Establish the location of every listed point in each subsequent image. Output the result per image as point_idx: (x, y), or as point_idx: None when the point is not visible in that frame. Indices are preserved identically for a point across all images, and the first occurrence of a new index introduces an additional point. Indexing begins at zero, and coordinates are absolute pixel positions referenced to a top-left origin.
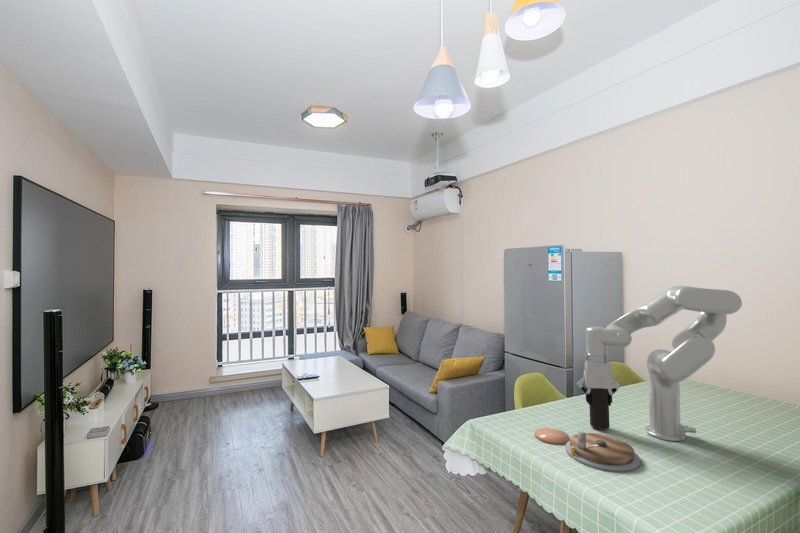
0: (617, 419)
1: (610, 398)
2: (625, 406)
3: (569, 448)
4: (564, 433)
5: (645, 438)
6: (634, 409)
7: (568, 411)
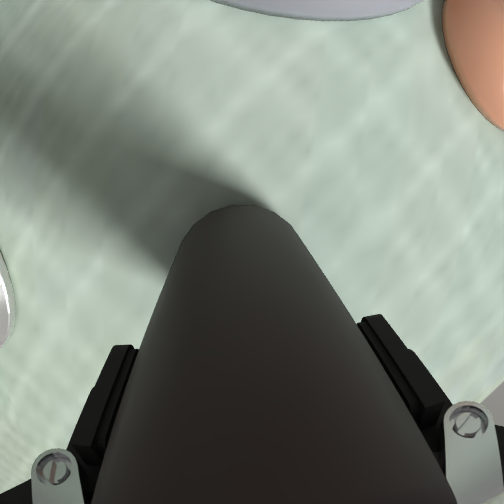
0: None
1: (87, 411)
2: None
3: None
4: (471, 65)
5: (13, 188)
6: None
7: None
